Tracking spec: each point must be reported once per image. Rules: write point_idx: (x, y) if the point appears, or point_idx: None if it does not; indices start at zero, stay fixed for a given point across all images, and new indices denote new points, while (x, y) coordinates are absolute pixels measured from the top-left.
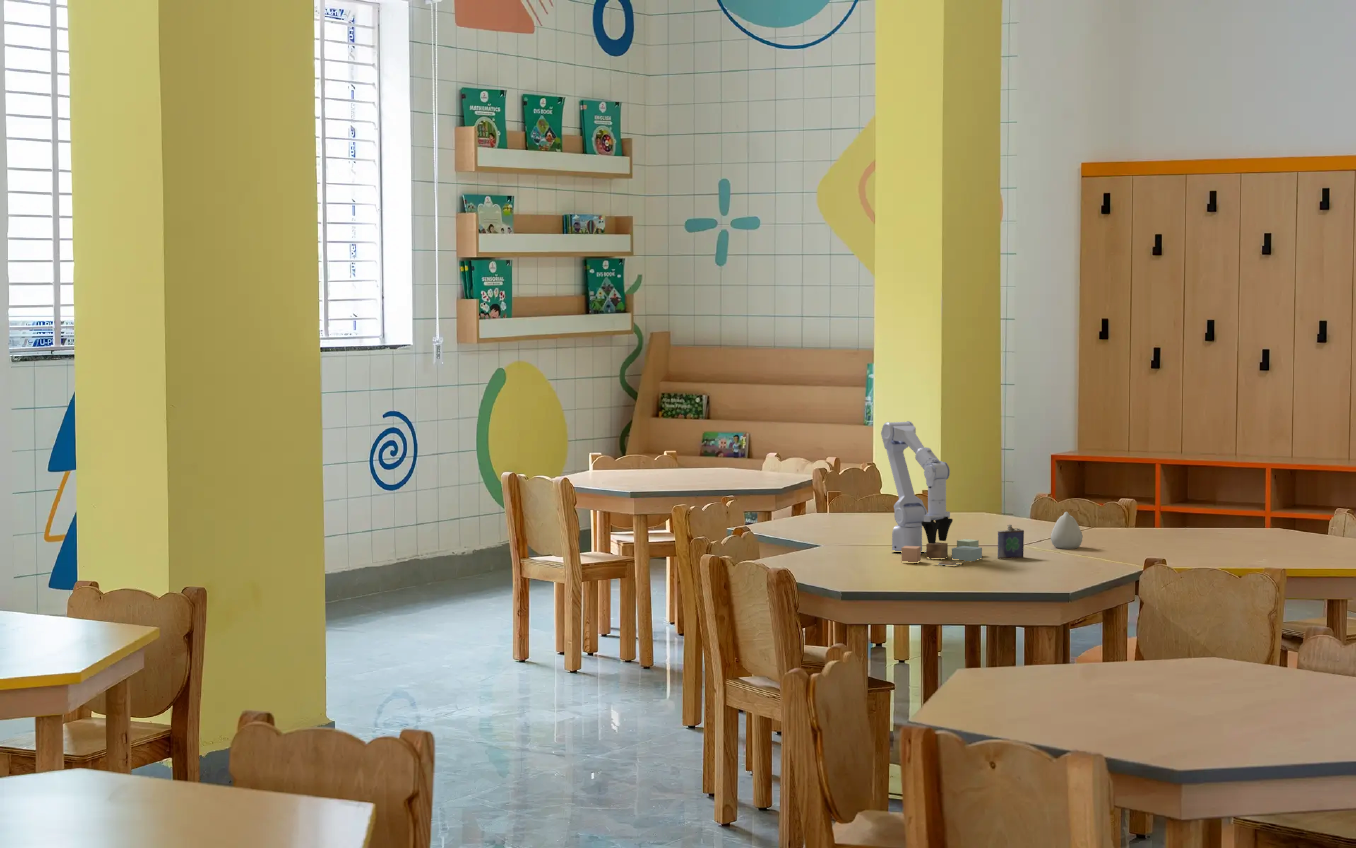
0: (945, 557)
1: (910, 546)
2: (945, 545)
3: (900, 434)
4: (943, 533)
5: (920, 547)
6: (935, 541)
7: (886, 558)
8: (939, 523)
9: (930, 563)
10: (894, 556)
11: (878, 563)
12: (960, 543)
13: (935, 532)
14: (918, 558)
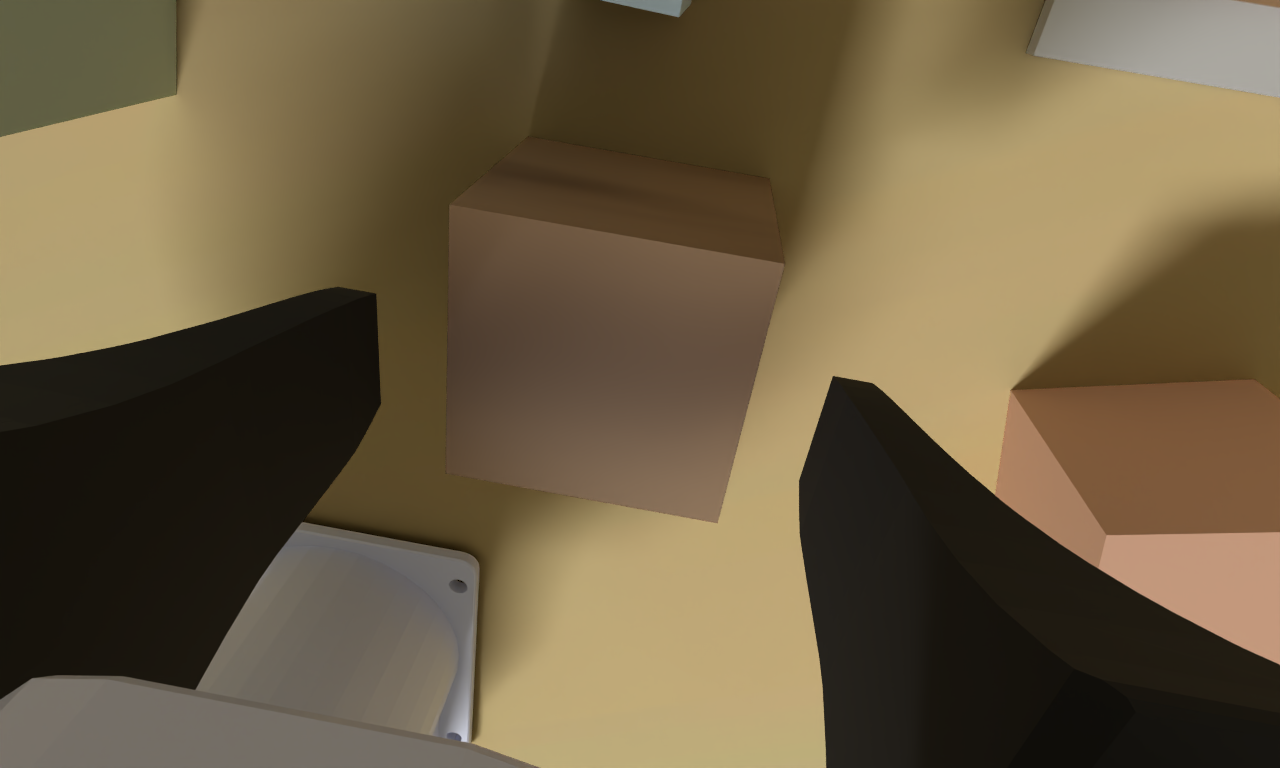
0: (598, 154)
1: None
2: (558, 211)
3: None
4: (288, 407)
5: (1112, 523)
6: (846, 388)
7: None
8: (1067, 667)
9: (1158, 226)
10: (662, 695)
11: None
12: (1, 40)
13: (992, 514)
14: (1203, 420)
